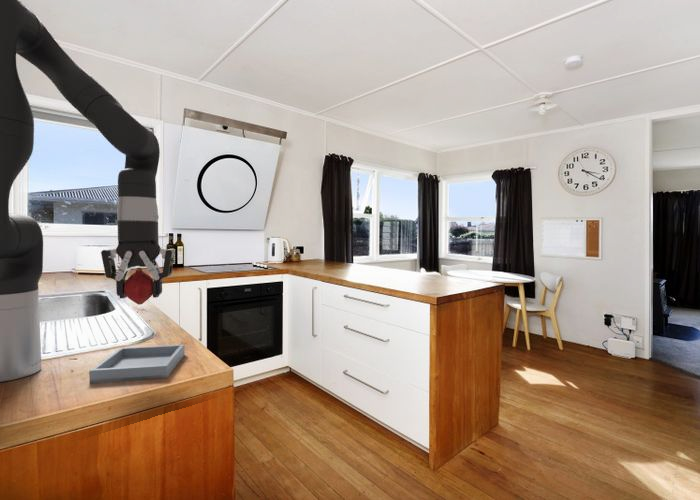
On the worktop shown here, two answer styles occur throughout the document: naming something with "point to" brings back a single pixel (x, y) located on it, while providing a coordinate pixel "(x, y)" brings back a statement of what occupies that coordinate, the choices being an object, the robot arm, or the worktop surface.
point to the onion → (139, 287)
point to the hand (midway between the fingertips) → (140, 297)
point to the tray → (138, 364)
